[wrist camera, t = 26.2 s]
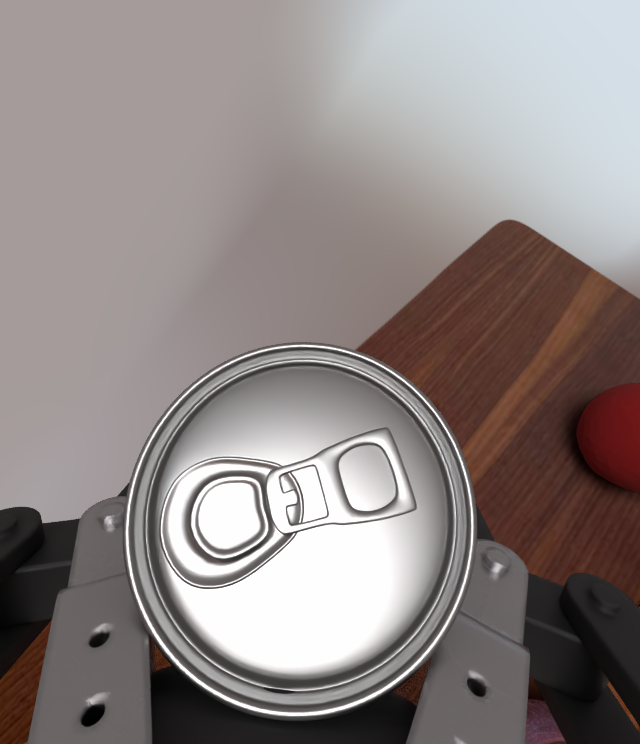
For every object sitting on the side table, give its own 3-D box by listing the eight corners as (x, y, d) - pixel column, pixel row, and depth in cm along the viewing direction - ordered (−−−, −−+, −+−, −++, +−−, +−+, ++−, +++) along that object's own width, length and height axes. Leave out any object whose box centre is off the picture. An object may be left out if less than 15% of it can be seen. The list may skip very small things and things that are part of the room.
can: (224, 471, 18) (87, 363, 7) (352, 437, 18) (416, 292, 8) (250, 626, 15) (96, 859, 4) (397, 579, 16) (589, 668, 5)
